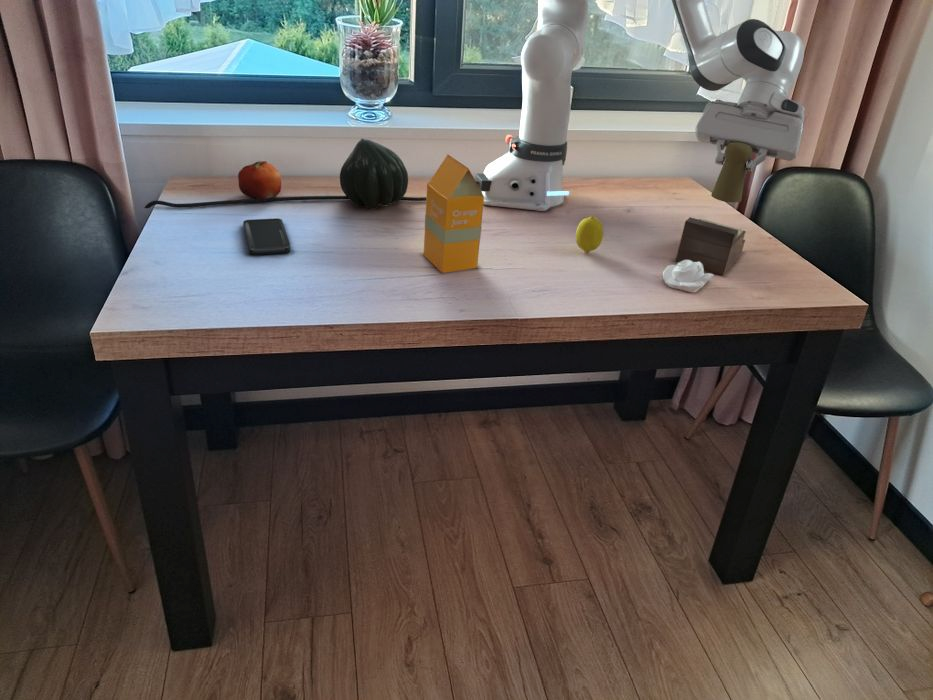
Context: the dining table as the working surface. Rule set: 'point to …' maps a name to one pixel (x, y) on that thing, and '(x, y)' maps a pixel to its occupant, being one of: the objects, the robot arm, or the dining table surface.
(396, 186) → the squash
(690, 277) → the rose
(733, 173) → the cork
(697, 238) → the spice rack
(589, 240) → the lemon
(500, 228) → the dining table surface
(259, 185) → the tomato
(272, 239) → the phone
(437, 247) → the orange juice
